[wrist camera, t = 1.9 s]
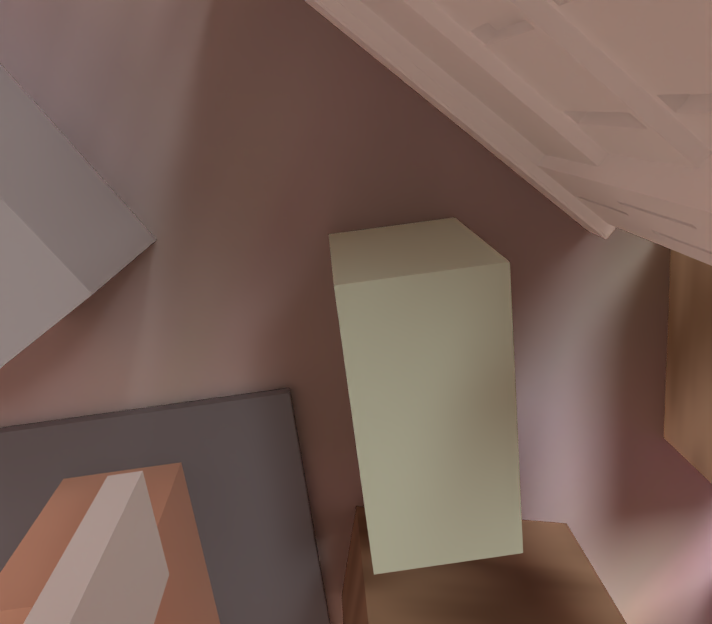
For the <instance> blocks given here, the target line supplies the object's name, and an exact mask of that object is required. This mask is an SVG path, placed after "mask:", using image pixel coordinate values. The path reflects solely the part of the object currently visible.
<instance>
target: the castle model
mask: <svg viewBox="0 0 712 624" xmlns="http://www.w3.org/2000/svg"><path fill="white" fill-rule="evenodd" d="M304 1H305V2H306V3H308V4H309V5H310V6H311V7H313V8H314V9H315V10H316V11H318V12H319V13H320V14H321V15H322V16H324V17H325V18H326V19H327V20H329V21H330V22H331V23H332V24H334V25H335V26H336V27H337V28H338V29H340V30H341V31H342V32H343V33H345V34H346V35H347V36H348V37H350V38H351V39H352V40H353V41H354V42H356V43H357V44H358V45H359V46H361V47H362V48H363V49H364V50H366V51H367V52H368V53H369V54H371V55H372V56H373V57H374V58H375V59H377V60H378V61H379V62H380V63H382V64H383V65H384V66H385V67H387V68H388V69H389V70H390V71H391V72H393V73H394V74H395V75H396V76H398V77H399V78H400V79H401V80H403V81H404V82H405V83H406V84H407V85H409V86H410V87H411V88H412V89H414V90H415V91H416V92H417V93H419V94H420V95H421V96H422V97H424V98H425V99H426V100H427V101H428V102H430V103H431V104H432V105H433V106H435V107H436V108H437V109H438V110H440V111H441V112H442V113H443V114H444V115H446V116H447V117H448V118H449V119H451V120H452V121H453V122H454V123H456V124H457V125H458V126H459V127H460V128H462V129H463V130H464V131H465V132H467V133H468V134H469V135H470V136H472V137H473V138H474V139H475V140H477V141H478V142H479V143H480V144H481V145H483V146H484V147H485V148H486V149H488V150H489V151H490V152H491V153H493V154H494V155H495V156H496V157H497V158H499V159H500V160H501V161H502V162H504V163H505V164H506V165H507V166H509V167H510V168H511V169H512V170H513V171H515V172H516V173H517V174H518V175H520V176H521V177H522V178H523V179H525V180H526V181H527V182H528V183H530V184H531V185H532V186H533V187H534V188H536V189H537V190H538V191H539V192H541V193H542V194H543V195H544V196H546V197H547V198H548V199H549V200H550V201H552V202H553V203H554V204H555V205H557V206H558V207H559V208H560V209H562V210H563V211H564V212H565V213H566V214H568V215H569V216H570V217H571V218H573V219H574V220H575V221H576V222H578V223H579V224H580V225H581V226H582V227H584V228H585V229H586V230H587V231H589V232H591V233H594V234H596V235H598V236H600V237H602V238H604V239H607V238H608V237H609V236H610V234H611V233H612V232H613V231H614V230H615V229H616V227H617V228H620V229H622V230H625V231H627V232H629V233H632V234H634V235H637V236H639V237H642V238H644V239H647V240H649V241H652V242H654V243H657V244H659V245H662V246H664V247H666V248H669V249H671V250H674V251H676V252H679V253H681V254H684V255H686V256H689V257H691V258H694V259H696V260H699V261H701V262H703V263H706V264H708V265H711V266H712V0H304Z"/></svg>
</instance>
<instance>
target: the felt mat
mask: <svg viewBox="0 0 712 624" xmlns="http://www.w3.org/2000/svg"><path fill="white" fill-rule="evenodd" d="M180 462H181V463H182V467H183V472H184V476H185V480H186V484H187V488H188V492H189V496H190V501H191V505H192V509H193V513H194V517H195V521H196V525H197V529H198V534H199V538H200V542H201V546H202V550H203V554H204V558H205V563H206V567H207V571H208V575H209V579H210V583H211V587H212V591H213V596H214V600H215V604H216V608H217V612H218V616H219V620H220V624H330V621H329V615H328V609H327V603H326V597H325V591H324V586H323V580H322V574H321V568H320V562H319V556H318V551H317V545H316V539H315V533H314V527H313V521H312V516H311V510H310V504H309V498H308V492H307V486H306V481H305V475H304V469H303V463H302V457H301V451H300V446H299V440H298V434H297V428H296V422H295V416H294V411H293V405H292V399H291V393H290V388H285V389H278V390H271V391H264V392H256V393H249V394H242V395H235V396H227V397H220V398H213V399H206V400H198V401H191V402H184V403H177V404H170V405H162V406H155V407H148V408H141V409H133V410H126V411H119V412H112V413H104V414H97V415H90V416H83V417H76V418H68V419H61V420H54V421H47V422H39V423H32V424H25V425H18V426H11V427H3V428H0V572H1V571H2V569H3V568H4V566H5V565H6V563H7V562H8V560H9V559H10V557H11V556H12V554H13V553H14V551H15V550H16V549H17V547H18V546H19V544H20V543H21V541H22V540H23V538H24V537H25V535H26V534H27V532H28V531H29V529H30V528H31V526H32V525H33V523H34V522H35V520H36V519H37V517H38V516H39V514H40V513H41V511H42V510H43V508H44V507H45V505H46V504H47V502H48V501H49V499H50V498H51V496H52V495H53V493H54V492H55V490H56V489H57V487H58V486H59V485H60V483H61V482H62V480H63V479H66V478H73V477H80V476H87V475H94V474H101V473H109V472H116V471H123V470H130V469H137V468H144V467H151V466H158V465H166V464H173V463H180Z"/></svg>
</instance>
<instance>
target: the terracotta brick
mask: <svg viewBox="0 0 712 624" xmlns="http://www.w3.org/2000/svg"><path fill="white" fill-rule="evenodd" d="M137 471H143V474H144V478H145V482H146V486H147V489H148V493H149V497H150V501H151V505H152V509H153V513H154V517H155V521H156V524H157V528H158V532H159V536H160V540H161V544H162V548H163V552H164V556H165V559H166V563H167V567H168V571H169V577H168V580H167V583H166V587H165V590H164V593H163V596H162V599H161V603H160V606H159V609H158V612H157V615H156V619H155V622H154V624H220V620H219V616H218V612H217V608H216V604H215V600H214V596H213V591H212V587H211V583H210V579H209V575H208V571H207V567H206V563H205V558H204V554H203V550H202V546H201V542H200V538H199V534H198V529H197V525H196V521H195V517H194V513H193V509H192V505H191V501H190V496H189V492H188V488H187V484H186V480H185V476H184V472H183V467H182V463H181V462H180V463H173V464H166V465H158V466H151V467H144V468H137V469H130V470H123V471H116V472H109V473H101V474H94V475H87V476H80V477H73V478H66V479H63V480H62V482H61V483H60V485H59V486H58V487H57V489H56V490H55V492H54V493H53V495H52V496H51V498H50V499H49V501H48V502H47V504H46V505H45V507H44V508H43V510H42V511H41V513H40V514H39V516H38V517H37V519H36V520H35V522H34V523H33V525H32V526H31V528H30V529H29V531H28V532H27V534H26V535H25V537H24V538H23V540H22V541H21V543H20V544H19V546H18V547H17V549H16V550H15V551H14V553H13V554H12V556H11V557H10V559H9V560H8V562H7V563H6V565H5V566H4V568H3V569H2V571H1V572H0V624H23V623H24V621H25V620H26V618H27V616H28V614H29V613H30V611H31V609H32V607H33V606H34V604H35V602H36V600H37V599H38V597H39V595H40V593H41V592H42V590H43V588H44V586H45V585H46V583H47V581H48V579H49V578H50V576H51V574H52V572H53V571H54V569H55V567H56V565H57V564H58V562H59V560H60V558H61V557H62V555H63V553H64V551H65V550H66V548H67V546H68V544H69V543H70V541H71V539H72V537H73V536H74V534H75V532H76V530H77V529H78V527H79V525H80V523H81V522H82V520H83V518H84V516H85V515H86V513H87V511H88V509H89V508H90V506H91V504H92V502H93V501H94V499H95V497H96V495H97V493H98V492H99V490H100V488H101V486H102V485H103V483H104V481H105V479H106V478H107V476H109V475H116V474H123V473H130V472H137Z"/></svg>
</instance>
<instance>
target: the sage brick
mask: <svg viewBox="0 0 712 624" xmlns="http://www.w3.org/2000/svg"><path fill="white" fill-rule="evenodd" d="M328 235H329V245H330V254H331V264H332V274H333V283H334V291H335V298H336V305H337V313H338V320H339V327H340V334H341V341H342V349H343V356H344V363H345V370H346V377H347V385H348V392H349V399H350V406H351V413H352V421H353V428H354V435H355V442H356V449H357V457H358V464H359V471H360V478H361V485H362V493H363V500H364V507H365V514H366V521H367V529H368V536H369V543H370V550H371V557H372V565H373V572H374V575H375V574H381V573H388V572H395V571H402V570H409V569H416V568H423V567H430V566H437V565H444V564H451V563H458V562H465V561H471V560H478V559H485V558H492V557H499V556H506V555H513V554H520V553H523V538H522V516H521V494H520V472H519V450H518V428H517V406H516V384H515V363H514V341H513V319H512V297H511V275H510V261H508V260H507V259H506V258H505V257H503V256H502V255H501V254H500V253H498V252H497V251H496V250H495V249H493V248H492V247H491V246H490V245H488V244H487V243H486V242H485V241H483V240H482V239H481V238H480V237H478V236H477V235H476V234H475V233H474V232H472V231H471V230H470V229H469V228H467V227H466V226H465V225H464V224H462V223H461V222H460V221H459V220H457V219H456V218H455V217H453V218H446V219H438V220H431V221H423V222H416V223H408V224H401V225H393V226H386V227H378V228H371V229H363V230H356V231H348V232H341V233H333V234H328Z"/></svg>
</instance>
